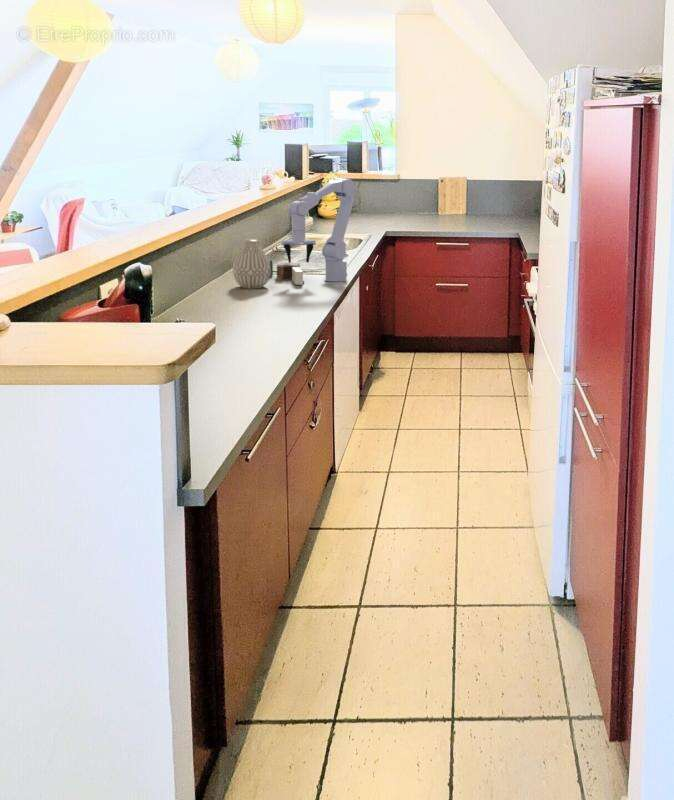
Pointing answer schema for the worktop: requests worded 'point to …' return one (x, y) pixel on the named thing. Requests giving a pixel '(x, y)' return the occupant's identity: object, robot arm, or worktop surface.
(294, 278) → the cream flat block piece
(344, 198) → the robot arm
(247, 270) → the vase
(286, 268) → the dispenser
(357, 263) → the worktop surface
